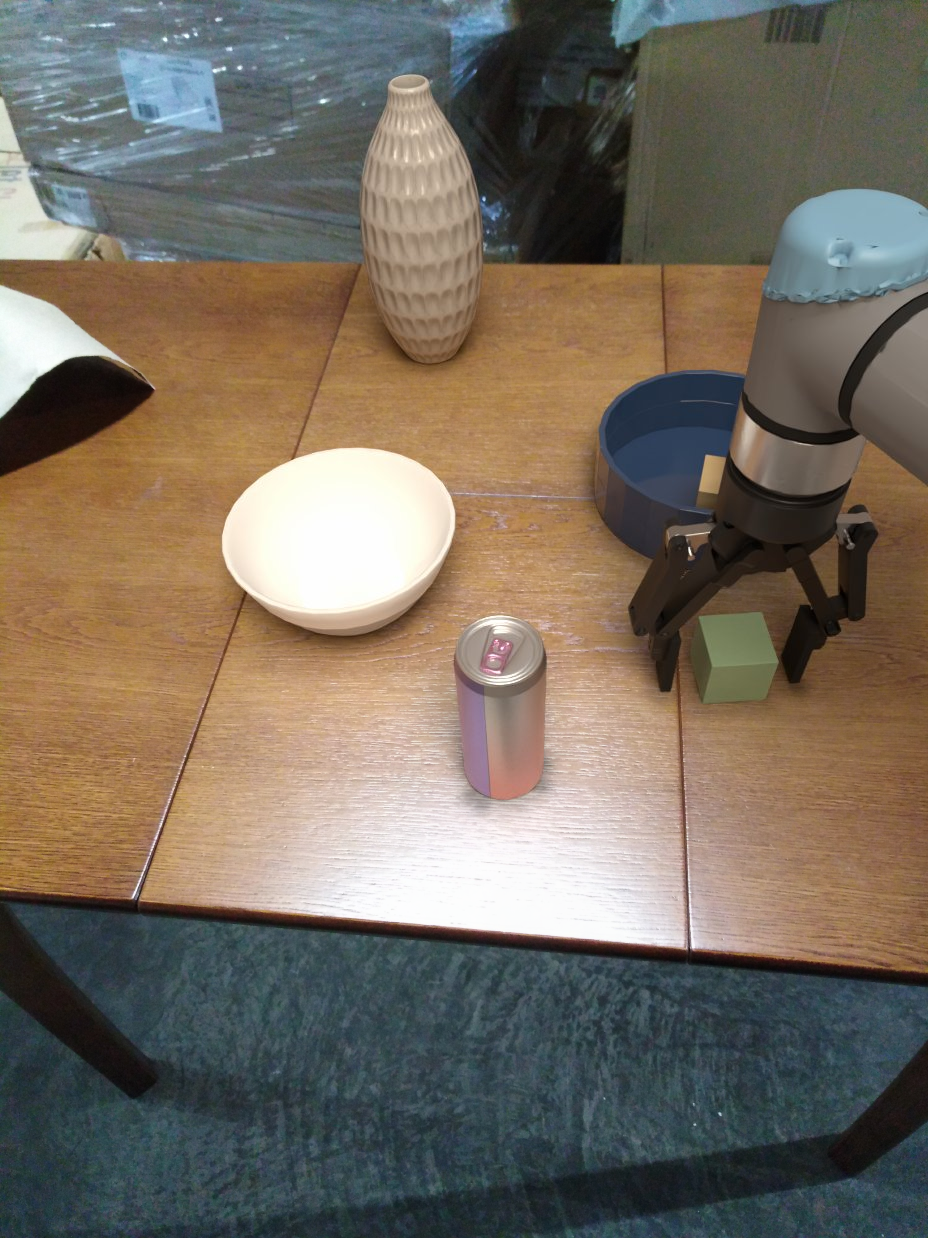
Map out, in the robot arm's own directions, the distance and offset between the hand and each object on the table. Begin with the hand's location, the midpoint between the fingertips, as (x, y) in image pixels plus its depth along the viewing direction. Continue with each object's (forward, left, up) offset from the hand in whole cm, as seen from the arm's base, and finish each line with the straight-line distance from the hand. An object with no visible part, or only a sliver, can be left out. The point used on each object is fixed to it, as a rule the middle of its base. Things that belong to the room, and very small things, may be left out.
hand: (726, 673), depth 72 cm
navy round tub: (+5, -21, 0) cm, 21 cm away
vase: (+38, -38, 0) cm, 54 cm away
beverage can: (+15, +13, 0) cm, 20 cm away
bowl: (+33, -1, 0) cm, 33 cm away
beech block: (+3, -18, 0) cm, 18 cm away
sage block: (0, 0, 0) cm, 0 cm away
